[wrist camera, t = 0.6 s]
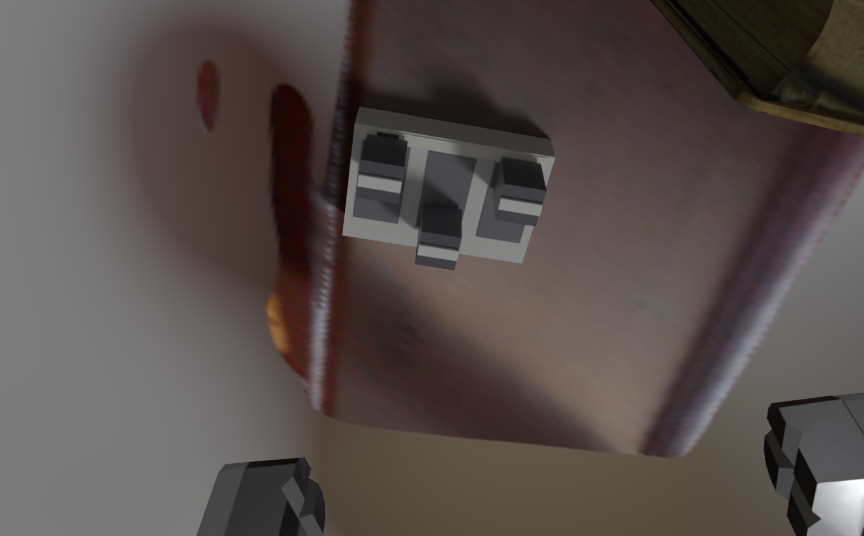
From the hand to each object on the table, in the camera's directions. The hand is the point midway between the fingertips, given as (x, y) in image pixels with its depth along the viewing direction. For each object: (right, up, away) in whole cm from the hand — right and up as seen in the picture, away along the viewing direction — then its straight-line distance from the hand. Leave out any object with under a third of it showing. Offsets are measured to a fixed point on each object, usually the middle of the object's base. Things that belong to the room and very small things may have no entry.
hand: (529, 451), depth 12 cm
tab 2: (+5, +10, +39) cm, 40 cm away
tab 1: (-5, +12, +38) cm, 40 cm away
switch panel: (-1, +10, +43) cm, 44 cm away
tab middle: (-1, +7, +41) cm, 42 cm away
